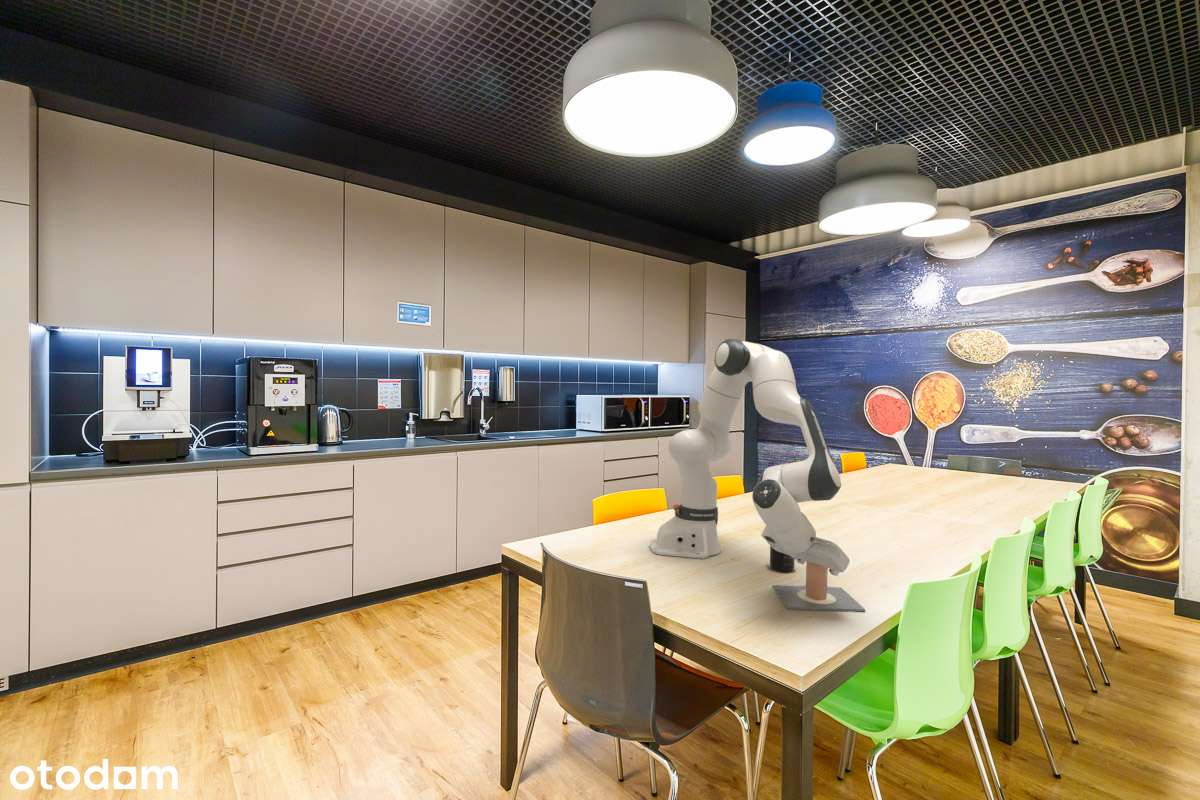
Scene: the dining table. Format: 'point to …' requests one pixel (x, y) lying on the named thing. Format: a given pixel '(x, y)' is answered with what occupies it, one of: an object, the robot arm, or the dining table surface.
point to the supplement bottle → (781, 561)
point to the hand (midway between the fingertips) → (818, 567)
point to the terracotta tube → (816, 581)
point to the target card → (799, 601)
